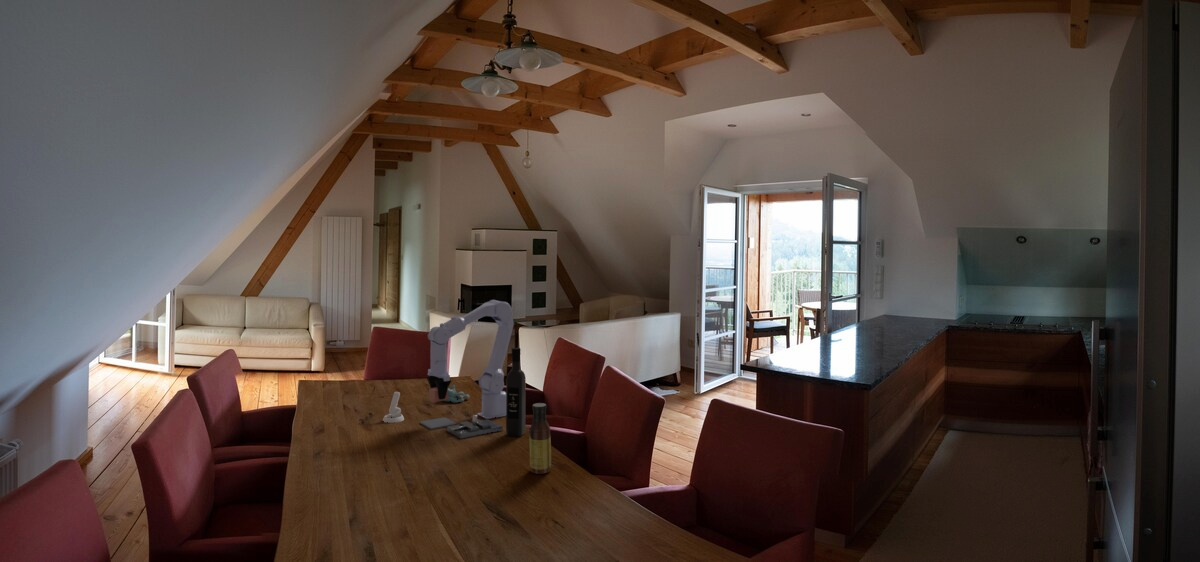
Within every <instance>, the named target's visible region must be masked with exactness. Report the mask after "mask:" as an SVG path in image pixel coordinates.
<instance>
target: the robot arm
mask: <svg viewBox="0 0 1200 562" xmlns="http://www.w3.org/2000/svg"><path fill="white" fill-rule="evenodd" d="M513 311H514V310H513V307H512V306H511V305H510V303H508V301H502V300H496V299H490V300H489V301H486V302H484V303H483V304H481V305H480V306H479V307H476V308H475V309H472V310H471V311H470V312H468V313H466V314H465V315H463V316H454V315H452V317H450V319H449V320H447V321H446V322H441V323H439V326H434V327H432V328H431V329H430V330H429V331H428V334H427V339H428V340H429V341H430V350H429V351H430V357H429V358H430V368H428V369H427V374H426V375H427V376H426V380H427V382H428V384H429V388H434V387H437V389H438V397H439V399H445V397H446V393H447V389H448V388H449V387H450V384H451V383H452V379H451V375H450V374H449V373H448V362H447V361H448V353H447V352H448V349H447V348H448V346H447V344H448V342H449V340H450V338H453V337H454V336H456V335H458V334H460V333H461V332H463V331H465V330H466V327H467V325H470V324H471V323H473V322H476V321H478V320H479V319H481V318H484V317H491V318H492V319H493V320H494V321H495V323H496V324H497V327H498V328H497V332H496V336H495V339H494V343H493V347H492V350H491V354H490V359H489V363H488V366H486V367H485V368H484V370H483V372H482V374H481V376H479V378H478V386H479V387H480V389H481V412H478V413H476V415H477V416H479V417H482V418H483V419H485V420H487V419H488V420H490V419H494V418H495V417H496V418H501V417H506V391H505V390H503V389H504V386H505V382H504V381H505V380H504V377H505V373H504V371H503V367H504V363H505V358H506V355H507V352H508V347H509V344H510V340H511V337H512V334H513V333H512V332H513V329H514V326H515V325H514V317H513Z"/></svg>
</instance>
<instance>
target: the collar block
mask: <svg viewBox="0 0 1200 562" xmlns="http://www.w3.org/2000/svg"><path fill="white" fill-rule="evenodd" d="M428 391H429V392H428V393H429V395H428V396H429V398H428V399H429V400H431V401H432V402H435V403H436V402H445V401H444V400H448V389H447V393H446V397H445V399H439V397H438V389H437V387H434V388H430V387H429V389H428Z"/></svg>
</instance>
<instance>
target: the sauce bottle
mask: <svg viewBox="0 0 1200 562" xmlns="http://www.w3.org/2000/svg"><path fill="white" fill-rule="evenodd" d="M531 410H532V422H531V425H530V428H529V431H528V448H529V453H528V454H529V470H530V472H531V473H532V474H536V475H543V474H548V473H549V472H551V469H552V467H551V466H552V442H551V437H552V436H551V426H550V424H549V422H548V421H547V413H546V412H547V404H546V403H544V402H543V403H542V402H537V403H533V404H532V409H531Z"/></svg>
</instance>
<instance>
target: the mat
mask: <svg viewBox="0 0 1200 562" xmlns="http://www.w3.org/2000/svg"><path fill="white" fill-rule="evenodd" d="M419 424H421V425H422V426H424V427H425V428H427V429H428V430H430V431H432V430H438V429H443V428H447V427H448V426H454V425H458V423H457V422H456V421H453V420H451V419H450V418H447V417H446V416H445V417H439V418H433V419H428V420H422V421H421V420H420V421H419Z"/></svg>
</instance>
